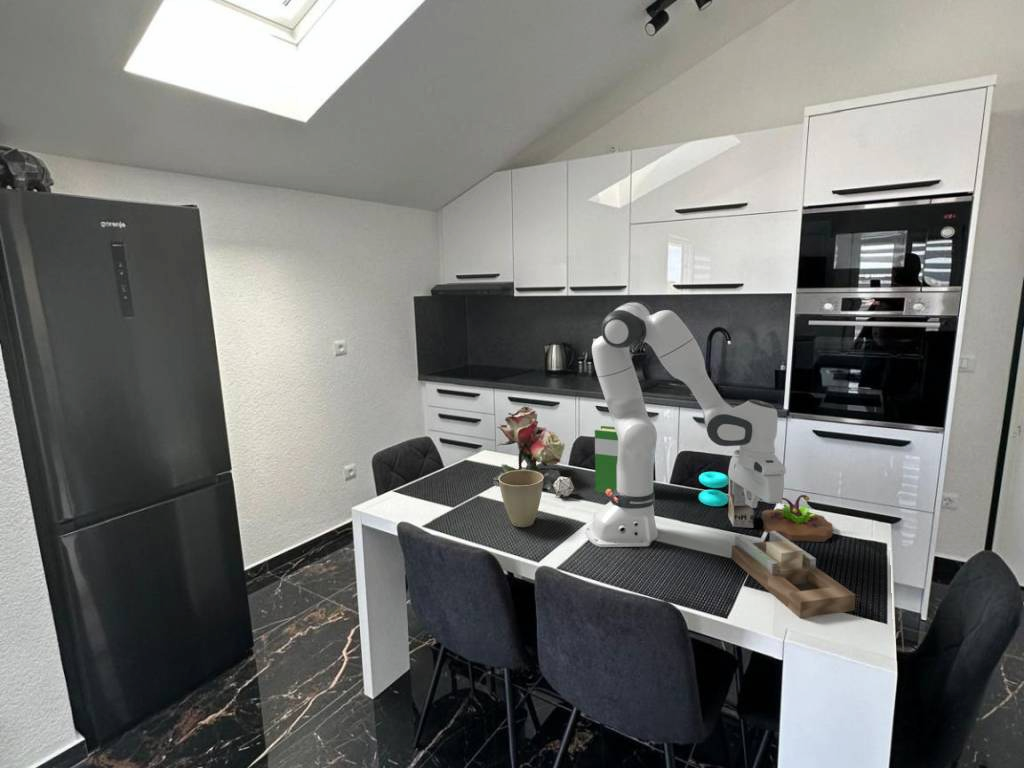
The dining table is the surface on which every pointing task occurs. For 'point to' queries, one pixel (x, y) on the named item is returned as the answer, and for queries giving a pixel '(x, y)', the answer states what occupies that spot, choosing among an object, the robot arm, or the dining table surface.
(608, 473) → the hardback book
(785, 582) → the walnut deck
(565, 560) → the dining table surface
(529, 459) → the rose bouquet
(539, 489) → the plant pot
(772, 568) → the lane walls
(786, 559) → the maple block
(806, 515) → the plant
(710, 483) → the donuts
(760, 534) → the dining table surface
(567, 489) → the game die
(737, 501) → the coffee box
